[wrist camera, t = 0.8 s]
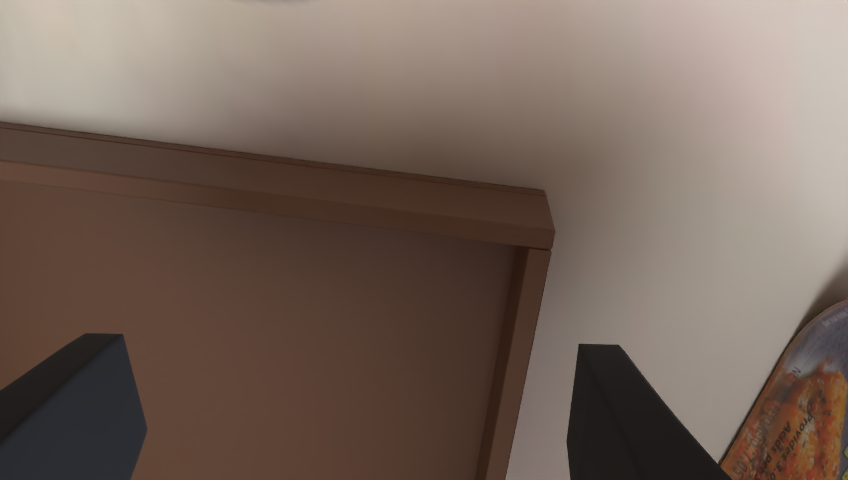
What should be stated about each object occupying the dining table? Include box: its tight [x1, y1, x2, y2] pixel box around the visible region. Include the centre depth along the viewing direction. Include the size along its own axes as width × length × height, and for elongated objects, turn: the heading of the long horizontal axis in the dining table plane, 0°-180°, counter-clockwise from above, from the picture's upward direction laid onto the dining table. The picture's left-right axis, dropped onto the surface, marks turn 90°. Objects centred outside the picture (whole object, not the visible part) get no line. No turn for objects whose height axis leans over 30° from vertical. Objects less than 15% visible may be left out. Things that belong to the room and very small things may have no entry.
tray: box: [0, 122, 555, 480], centre depth 24 cm, size 18×18×3 cm
